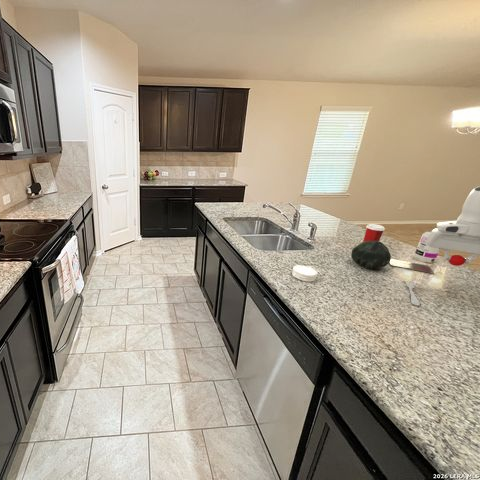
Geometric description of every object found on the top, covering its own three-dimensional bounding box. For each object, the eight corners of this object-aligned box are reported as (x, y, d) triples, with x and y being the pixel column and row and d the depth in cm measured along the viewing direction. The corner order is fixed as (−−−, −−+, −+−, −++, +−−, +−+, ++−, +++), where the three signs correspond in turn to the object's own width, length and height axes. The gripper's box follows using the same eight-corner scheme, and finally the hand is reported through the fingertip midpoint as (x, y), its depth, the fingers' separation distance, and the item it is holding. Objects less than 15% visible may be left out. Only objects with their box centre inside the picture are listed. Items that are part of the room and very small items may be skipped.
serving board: (428, 266, 128) (428, 265, 128) (433, 274, 120) (434, 273, 120) (387, 258, 136) (387, 257, 136) (390, 265, 128) (390, 264, 128)
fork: (408, 308, 99) (411, 303, 98) (402, 281, 114) (404, 276, 113) (418, 311, 97) (421, 305, 96) (410, 283, 112) (413, 278, 111)
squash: (361, 246, 137) (360, 231, 127) (395, 257, 126) (398, 241, 116) (346, 266, 135) (345, 252, 125) (380, 279, 124) (382, 265, 114)
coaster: (319, 283, 112) (321, 276, 110) (295, 280, 114) (296, 273, 112) (311, 272, 121) (313, 266, 120) (289, 270, 123) (290, 263, 121)
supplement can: (436, 261, 134) (448, 234, 128) (431, 264, 130) (443, 237, 124) (415, 255, 140) (426, 230, 135) (410, 258, 136) (421, 232, 131)
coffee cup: (374, 248, 148) (382, 224, 143) (378, 254, 141) (387, 229, 136) (357, 246, 152) (364, 222, 146) (360, 251, 145) (368, 226, 139)
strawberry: (459, 264, 102) (464, 254, 100) (464, 268, 99) (469, 258, 97) (444, 261, 104) (449, 252, 103) (448, 265, 101) (453, 255, 99)
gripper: (508, 231, 93) (490, 264, 98) (432, 222, 103) (419, 253, 108) (518, 236, 88) (499, 271, 93) (437, 226, 99) (423, 258, 103)
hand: (455, 261), depth 101 cm, fingers closed on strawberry, 4 cm apart
